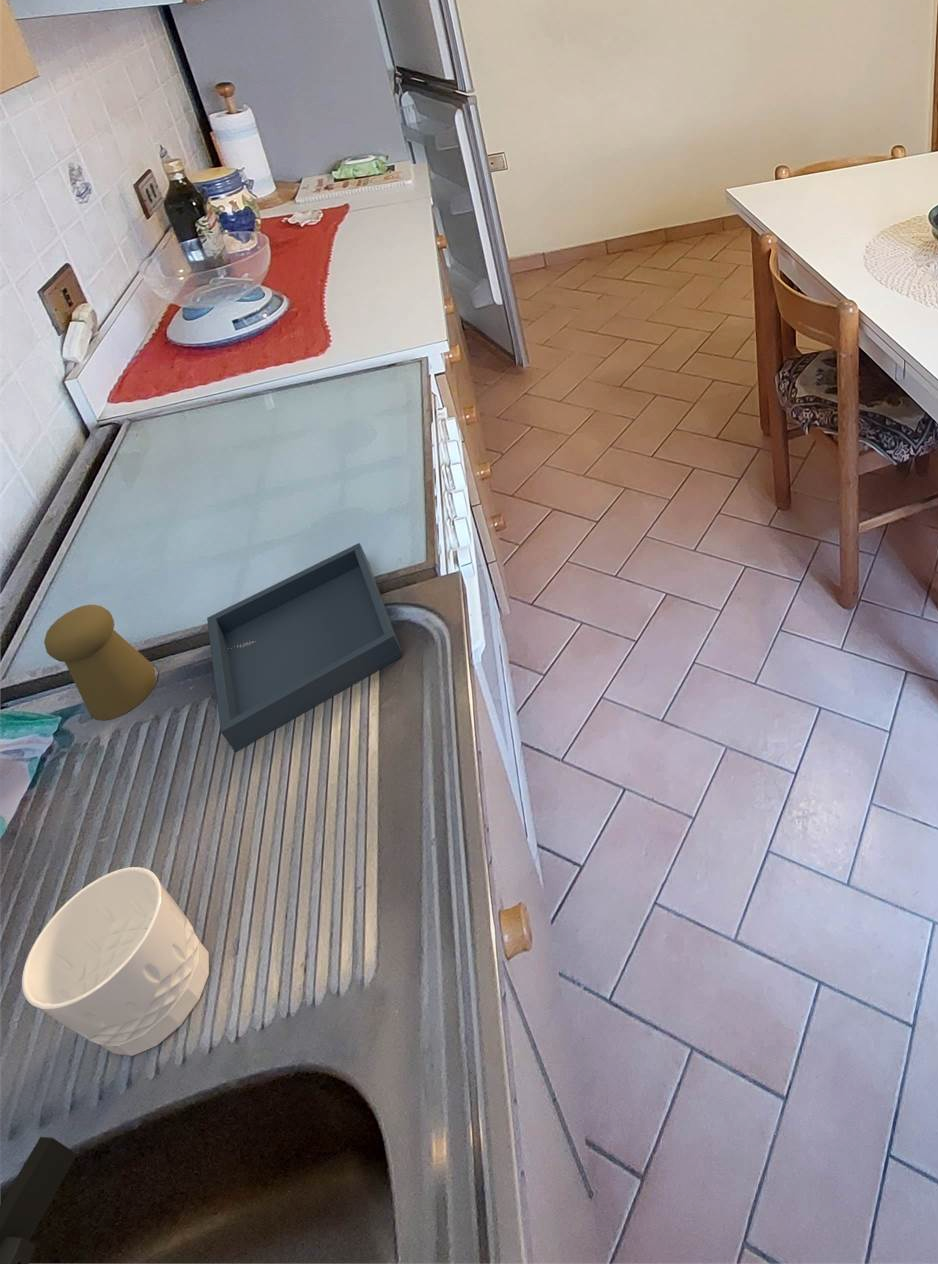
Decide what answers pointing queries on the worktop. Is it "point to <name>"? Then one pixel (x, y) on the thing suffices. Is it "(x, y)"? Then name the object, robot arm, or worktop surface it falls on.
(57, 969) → the white cup
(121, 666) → the cork
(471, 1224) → the worktop surface
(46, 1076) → the worktop surface
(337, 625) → the shallow grey tray
